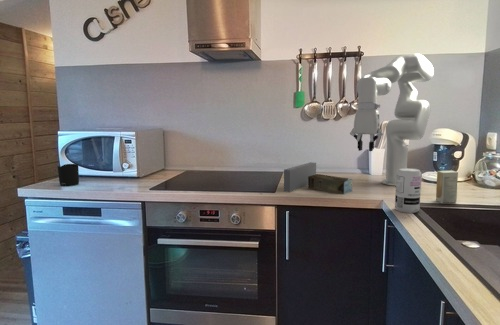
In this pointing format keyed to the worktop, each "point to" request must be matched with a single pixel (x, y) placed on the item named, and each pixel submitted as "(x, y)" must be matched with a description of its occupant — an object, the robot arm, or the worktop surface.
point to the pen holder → (68, 174)
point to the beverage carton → (330, 183)
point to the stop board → (298, 176)
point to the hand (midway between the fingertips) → (365, 150)
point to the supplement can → (408, 190)
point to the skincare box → (446, 186)
